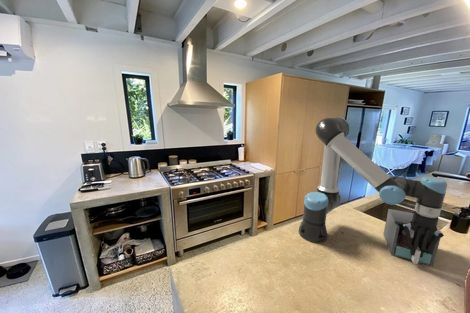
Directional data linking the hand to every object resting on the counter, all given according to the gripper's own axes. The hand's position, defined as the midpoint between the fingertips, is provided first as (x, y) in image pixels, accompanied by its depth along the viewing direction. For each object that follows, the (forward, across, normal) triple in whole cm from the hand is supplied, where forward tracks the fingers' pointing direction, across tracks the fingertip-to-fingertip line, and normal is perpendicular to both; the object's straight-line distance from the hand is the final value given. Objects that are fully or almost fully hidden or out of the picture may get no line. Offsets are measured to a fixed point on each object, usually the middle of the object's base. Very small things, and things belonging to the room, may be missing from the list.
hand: (414, 261), depth 85 cm
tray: (+1, 0, +10) cm, 11 cm away
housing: (+2, 0, +12) cm, 13 cm away
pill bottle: (0, 0, +10) cm, 10 cm away
